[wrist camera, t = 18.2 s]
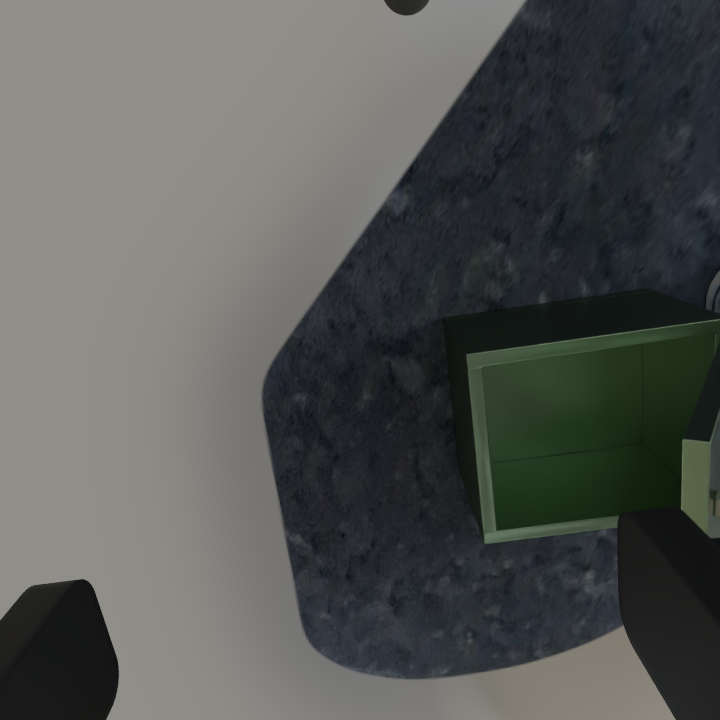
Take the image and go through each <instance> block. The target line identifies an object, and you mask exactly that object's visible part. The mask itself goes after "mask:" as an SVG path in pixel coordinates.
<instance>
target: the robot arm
mask: <svg viewBox="0 0 720 720" xmlns="http://www.w3.org/2000/svg"><path fill="white" fill-rule="evenodd" d="M617 538H618V592H619V607H620V612H621V617H622V621H623V624H624V627H625V630H626V633H627V635H628V638H629V640H630V642H631V644H632V646H633V648H634V650H635V652H636V653H637V655H638V656H639V658H640V660H641V661H642V663H643V665H644V667H645V668H646V670H647V672H648V674H649V675H650V677H651V678H652V680H653V682H654V684H655V685H656V687H657V689H658V690H659V692H660V694H661V695H662V697H663V699H664V700H665V702H666V704H667V705H668V707H669V709H670V710H671V712H672V714H673V716H674V717H675V719H676V720H720V537H719V538H710V537H709V536H708V535H707V534H706V533H705V532H704V531H703V530H702V529H701V528H700V527H699V526H698V525H697V524H696V523H695V522H694V521H693V520H692V519H691V518H690V517H689V516H688V515H687V514H686V513H685V512H684V511H683V510H682V509H680V508H679V507H677V506H669V507H662V508H654V509H646V510H638V511H630V512H622V513H621V514H620V516H619V518H618V524H617ZM118 679H119V670H118V661H117V657H116V654H115V651H114V648H113V645H112V642H111V639H110V636H109V633H108V630H107V627H106V624H105V621H104V618H103V615H102V612H101V609H100V606H99V603H98V600H97V597H96V594H95V591H94V589H93V587H92V585H91V584H90V583H89V582H88V581H86V580H83V579H81V580H73V581H65V582H57V583H49V584H42V585H34V586H31V587H29V588H28V589H27V590H26V591H25V592H24V593H23V594H22V595H21V596H20V597H19V599H18V600H17V601H16V602H15V603H14V605H13V606H12V607H11V609H9V611H8V612H7V613H6V614H5V616H4V617H3V618H2V619H1V620H0V720H106V719H107V716H108V714H109V712H110V710H111V708H112V706H113V703H114V700H115V697H116V693H117V688H118Z"/></svg>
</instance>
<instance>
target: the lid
mask: <svg viewBox="0 0 720 720" xmlns="http://www.w3.org/2000/svg"><path fill="white" fill-rule="evenodd" d="M681 509H682V510H683V511H684V512H685V513H686V514H687V515H688V516H689V517H690V518H691V519H692V520H693V521H694V522H695V523H696V524H697V525H698V526H699V527H700V528H701V529H702V530H703V531H704V532H705V533H706V534H707V535H708V536H709V537H710V538H719V537H720V342H719V345H718V347H717V350H716V352H715V355H714V358H713V360H712V363H711V365H710V368H709V371H708V373H707V376H706V379H705V381H704V384H703V386H702V389H701V392H700V394H699V397H698V399H697V402H696V405H695V407H694V410H693V412H692V415H691V418H690V420H689V423H688V425H687V428H686V431H685V433H684V436H683V439H682V466H681Z"/></svg>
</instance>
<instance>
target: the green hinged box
mask: <svg viewBox="0 0 720 720" xmlns="http://www.w3.org/2000/svg"><path fill="white" fill-rule="evenodd" d="M443 324H444V333H445V342H446V352H447V361H448V370H449V380H450V389H451V399H452V408H453V417H454V427H455V436H456V445H457V455H458V464H459V472H460V475H461V478H462V481H463V484H464V487H465V489H466V492H467V495H468V498H469V501H470V504H471V507H472V509H473V512H474V515H475V518H476V521H477V524H478V527H479V530H480V532H481V535H482V538H483V541H484V543H485V544H489V543H497V542H505V541H513V540H521V539H529V538H537V537H545V536H553V535H561V534H569V533H577V532H585V531H593V530H601V529H609V528H617V524H618V518H619V516H620V514H621V513H622V512H630V511H638V510H646V509H654V508H662V507H669V506H677V507H679V508H680V509H681V466H682V439H683V436H684V433H685V431H686V428H687V425H688V423H689V420H690V418H691V415H692V412H693V410H694V407H695V405H696V402H697V399H698V397H699V394H700V392H701V389H702V386H703V384H704V381H705V379H706V376H707V373H708V371H709V368H710V365H711V363H712V360H713V358H714V355H715V352H716V350H717V347H718V345H719V342H720V314H719V313H716V312H713V311H710V310H707V309H705V308H702V307H699V306H696V305H693V304H690V303H688V302H685V301H682V300H679V299H676V298H673V297H671V296H668V295H665V294H662V293H659V292H656V291H653V290H650V289H642V290H635V291H628V292H621V293H614V294H607V295H600V296H593V297H586V298H579V299H572V300H565V301H558V302H551V303H544V304H537V305H529V306H522V307H515V308H508V309H501V310H494V311H487V312H480V313H473V314H466V315H459V316H452V317H445V318H443Z"/></svg>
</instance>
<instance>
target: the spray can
mask: <svg viewBox="0 0 720 720" xmlns="http://www.w3.org/2000/svg"><path fill="white" fill-rule="evenodd" d="M706 309H707V310H710V311H713V312H716V313H719V314H720V271H719V272H718V273H717V274H716V276H715V278H714V279H713V281H712V283H711V284H710V287H709V290H708V293H707V296H706Z"/></svg>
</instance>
